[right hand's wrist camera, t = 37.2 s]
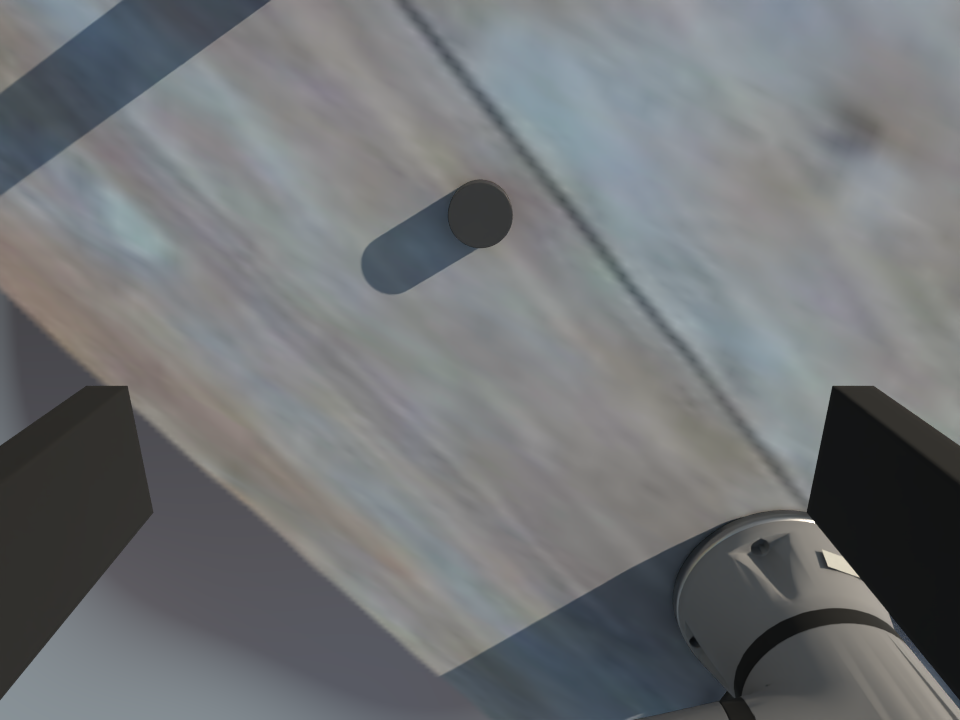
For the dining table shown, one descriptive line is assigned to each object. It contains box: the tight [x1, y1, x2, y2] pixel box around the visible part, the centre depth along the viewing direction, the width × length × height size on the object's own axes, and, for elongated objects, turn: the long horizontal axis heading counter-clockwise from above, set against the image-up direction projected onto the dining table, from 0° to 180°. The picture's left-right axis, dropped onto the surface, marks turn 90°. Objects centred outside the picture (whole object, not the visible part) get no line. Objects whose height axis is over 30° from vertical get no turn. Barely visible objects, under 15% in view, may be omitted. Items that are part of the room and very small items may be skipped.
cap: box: [448, 180, 513, 248], centre depth 41 cm, size 4×4×2 cm
